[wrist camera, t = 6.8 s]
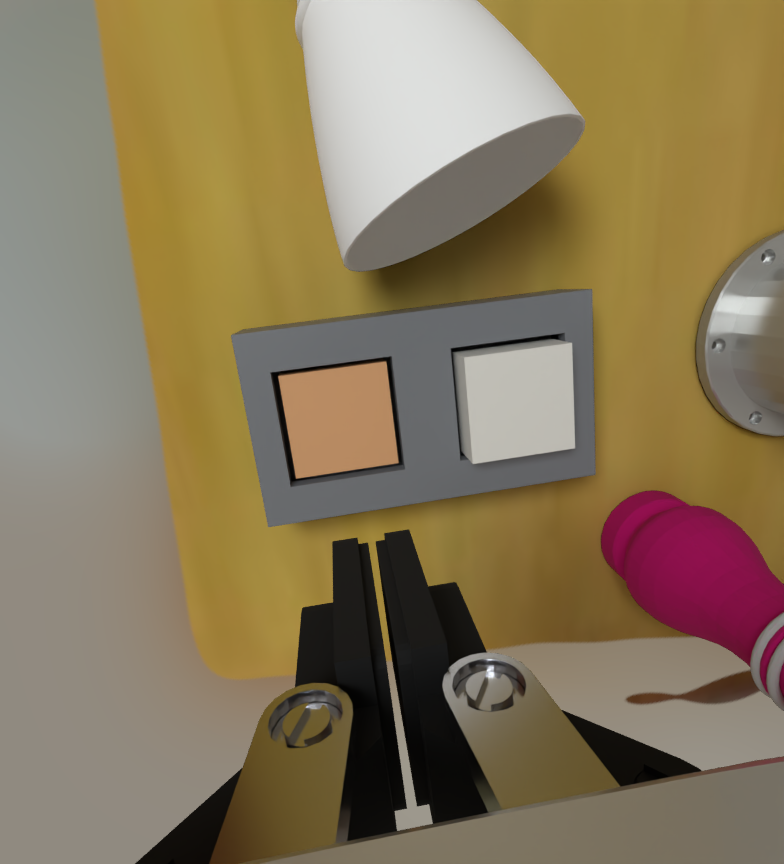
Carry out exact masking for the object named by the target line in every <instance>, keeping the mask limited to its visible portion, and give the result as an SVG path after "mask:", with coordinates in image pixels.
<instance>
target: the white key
mask: <svg viewBox="0 0 784 864" xmlns="http://www.w3.org/2000/svg"><path fill="white" fill-rule="evenodd" d="M452 353H453V365H454V376H455V388H456V399H457V410H458V422H459V433H460V445H461V451H462V452H463V453H464V455H465V456H466V457H467V458H468V459H469V460H470V461H471V463H472V464H477V463H483V462H490V461H496V460H503V459H509V458H516V457H522V456H529V455H535V454H541V453H548V452H554V451H561V450H567V449H574V448H575V426H574V391H573V355H572V343H570V342H565V341H561V340H556V339H546V340H539V341H531V342H524V343H517V344H509V345H502V346H494V347H487V348H480V349H472V350H465V351H457V352H452Z"/></svg>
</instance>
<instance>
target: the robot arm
mask: <svg viewBox="0 0 784 864" xmlns="http://www.w3.org/2000/svg"><path fill="white" fill-rule="evenodd" d="M696 362H697V367H698V373H699V378H700V381H701V383H702V386H703V388H704V391H705V393H706V396H707V397H708V398H709V400H710V401H711V403H712V404H713V406H714V407H715V409H716V410H717V411H718V412H720V413H721V414H722V415H723V416H724V417H725V418H726V419H727V420H729V421H731V422H732V423H734V424H736V425H738V426H739V427H741V428H744V429H747V430H750V431H753V432H756V433H759V434H765V435H771V436H784V230H782V231H779V232H777V233H775V234H772V235H770V236H768V237H765V238H763V239H762V240H760V241H759V242H757V243H756V244H754V245H753V246H751V247H750V248H748V249H747V250H746V251H745V252H744V253H742V254H741V255H740V256H739V257H738V258H737V259H736V260H735V261H734V262H733V263H732V264H731V265H730V266H729V267H728V269H727V270H726V271H725V273H724V274H723V275H722V277H721V278H720V279H719V280H718V282H717V284H716V285H715V287H714V289H713V291H712V293H711V295H710V296H709V298H708V300H707V302H706V305H705V308H704V311H703V314H702V317H701V319H700V324H699V329H698V335H697V340H696ZM384 535H385V540H382V541H376V547H377V555H378V562H379V569H380V576H381V584H382V591H383V598H384V605H385V613H386V620H387V627H388V634H389V642H390V649H391V655H392V662H393V668H394V674H395V680H396V685H397V691H398V697H399V703H400V709H401V715H402V721H403V726H404V732H405V738H406V744H407V750H408V756H409V762H410V768H411V773H412V780H413V785H414V790H415V797H416V802H417V806H422V805H427V804H429V805H430V811H431V816H432V821H433V824H430V825H425V826H420V827H415V828H410V829H406V830H400V831H397V829H396V820H395V812H394V811H396V810H402V809H407V807H406V799H405V793H404V785H403V778H402V771H401V763H400V757H399V750H398V742H397V735H396V728H395V721H394V714H393V707H392V700H391V693H390V686H389V679H388V672H387V665H386V658H385V651H384V645H383V638H382V631H381V625H380V618H379V612H378V605H377V599H376V592H375V586H374V579H373V573H372V566H371V560H370V553H369V547H368V543H363V544H358V539H357V538H352V539H346V540H339V541H333V603H327V604H321V605H315V606H309V607H303V608H302V613H301V624H300V636H299V648H298V659H297V671H296V684H295V688H293V689H290V690H288V691H286V692H284V693H283V694H281V695H280V696H278V697H277V698H275V699H274V700H273V701H272V702H271V703H270V704H269V705H268V707H267V708H266V709H265V710H264V712H263V715H262V716H261V718H260V720H259V722H258V725H257V728H256V731H255V734H254V737H253V739H252V742H251V745H250V748H249V751H248V754H247V757H246V759H245V762H244V765H243V768H242V769H240V771H238V772H237V773H236V774H235V775H234V776H233V777H232V778H230V779H229V780H228V781H227V782H226V783H225V784H224V785H223V786H221V787H220V788H219V789H218V790H217V791H216V792H215V793H214V794H213V795H211V796H210V797H209V798H208V799H207V800H206V801H205V802H204V803H203V804H201V806H199V807H198V808H197V809H196V810H195V811H194V812H192V813H191V814H190V815H189V816H188V817H187V818H186V819H185V820H183V822H181V823H180V824H179V825H178V826H177V827H176V828H175V829H173V830H172V831H171V832H170V833H169V834H168V835H167V836H166V837H164V838H163V839H162V840H161V841H160V842H159V843H158V844H157V845H156V846H155V847H153V848H152V849H151V850H150V851H149V852H148V853H147V854H145V855H144V856H143V857H142V858H141V859H140V860H139V861H138V862H137V863H135V864H784V756H783V757H777V758H770V759H764V760H757V761H751V762H746V763H742V764H736V765H732V766H727V767H721V768H716V769H710V770H705V771H701V770H700V769H699V768H697V767H695V766H693V765H691V764H689V763H687V762H686V761H684V760H682V759H680V758H677V757H675V756H672V755H670V754H668V753H665V752H663V751H660V750H658V749H655V748H653V747H650V746H648V745H645V744H643V743H641V742H638V741H636V740H634V739H631V738H629V737H626V736H624V735H621V734H619V733H616V732H614V731H612V730H609V729H607V728H604V727H602V726H600V725H597V724H594V723H592V722H590V721H587V720H585V719H582V718H580V717H578V716H575V715H573V714H570V713H568V712H565V711H563V710H561V709H560V708H559V707H558V705H557V704H556V703H555V702H554V700H553V699H552V698H551V696H550V695H549V694H548V693H547V691H546V690H545V689H544V687H543V686H542V685H541V683H540V682H539V681H538V680H537V678H536V677H535V676H534V675H533V673H532V672H531V671H530V670H529V669H528V668H527V667H526V666H525V665H524V664H523V663H522V662H520V661H518V660H516V659H514V658H512V657H510V656H506V655H502V654H498V653H487V652H486V649H485V647H484V645H483V643H482V640H481V638H480V636H479V633H478V631H477V629H476V626H475V624H474V622H473V620H472V617H471V615H470V613H469V610H468V608H467V606H466V604H465V601H464V599H463V597H462V594H461V592H460V590H459V587H458V585H457V584H456V583H455V582H453V583H447V584H441V585H435V586H429V587H428V585H427V582H426V579H425V576H424V573H423V570H422V567H421V564H420V561H419V558H418V555H417V552H416V549H415V546H414V543H413V540H412V537H411V534H410V531H409V530H403V531H396V532H390V533H384Z"/></svg>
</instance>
